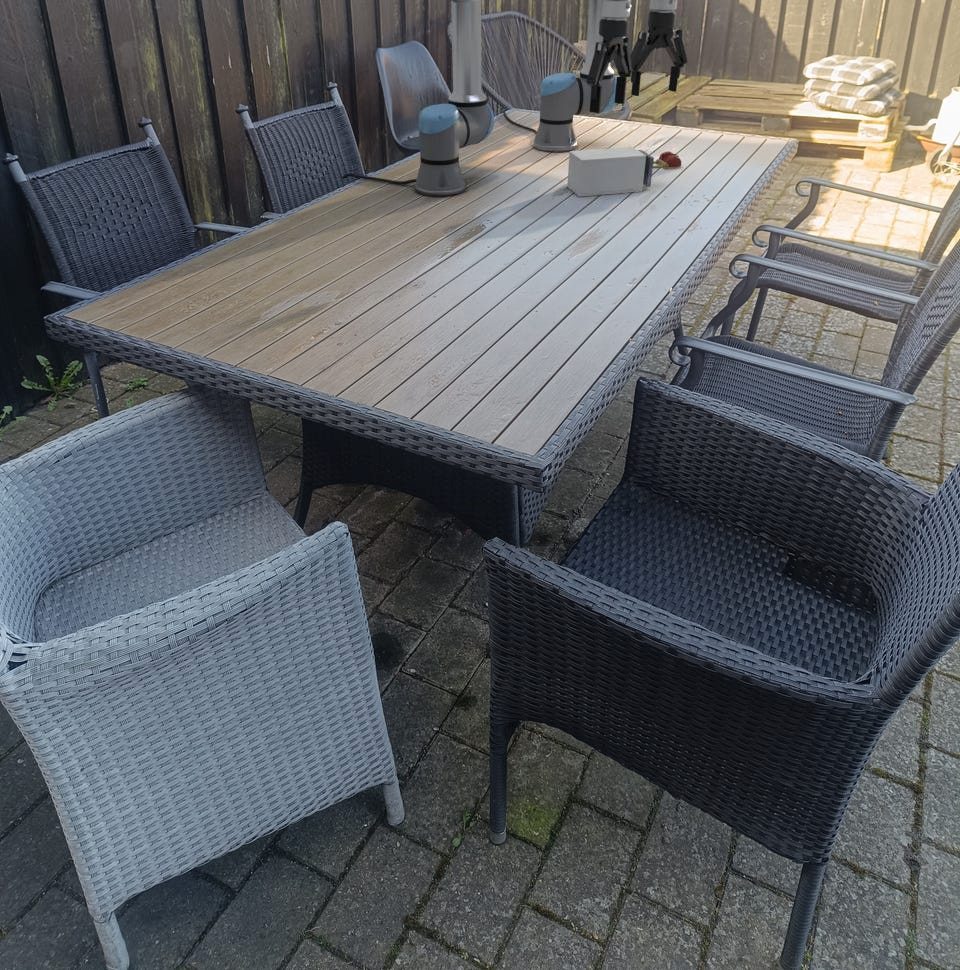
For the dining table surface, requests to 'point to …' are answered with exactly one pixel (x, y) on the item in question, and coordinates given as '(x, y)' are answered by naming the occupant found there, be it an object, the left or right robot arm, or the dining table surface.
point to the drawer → (651, 168)
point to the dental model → (670, 159)
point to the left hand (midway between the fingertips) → (607, 107)
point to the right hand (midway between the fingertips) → (653, 93)
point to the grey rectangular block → (606, 171)
